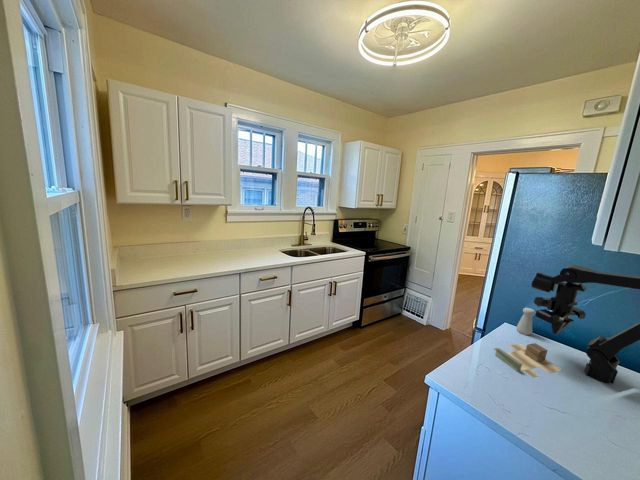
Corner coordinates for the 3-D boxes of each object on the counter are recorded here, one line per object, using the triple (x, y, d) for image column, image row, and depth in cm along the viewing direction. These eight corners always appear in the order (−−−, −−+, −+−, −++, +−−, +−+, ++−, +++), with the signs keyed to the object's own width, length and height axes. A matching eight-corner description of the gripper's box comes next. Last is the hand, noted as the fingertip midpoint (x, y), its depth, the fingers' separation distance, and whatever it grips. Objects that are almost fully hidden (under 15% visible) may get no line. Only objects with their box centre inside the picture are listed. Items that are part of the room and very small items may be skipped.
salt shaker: (518, 336, 119) (524, 310, 115) (513, 329, 124) (519, 305, 121) (533, 339, 117) (540, 313, 114) (527, 332, 122) (534, 307, 119)
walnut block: (532, 352, 106) (535, 343, 104) (544, 360, 101) (547, 350, 100) (524, 354, 104) (527, 344, 103) (536, 361, 100) (539, 351, 99)
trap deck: (519, 346, 111) (521, 337, 110) (562, 372, 97) (565, 363, 96) (486, 352, 106) (488, 343, 105) (526, 381, 92) (529, 371, 91)
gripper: (558, 286, 109) (549, 320, 113) (525, 290, 104) (517, 325, 108) (591, 298, 99) (580, 334, 102) (557, 303, 93) (546, 341, 97)
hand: (554, 333), depth 103 cm, fingers closed
